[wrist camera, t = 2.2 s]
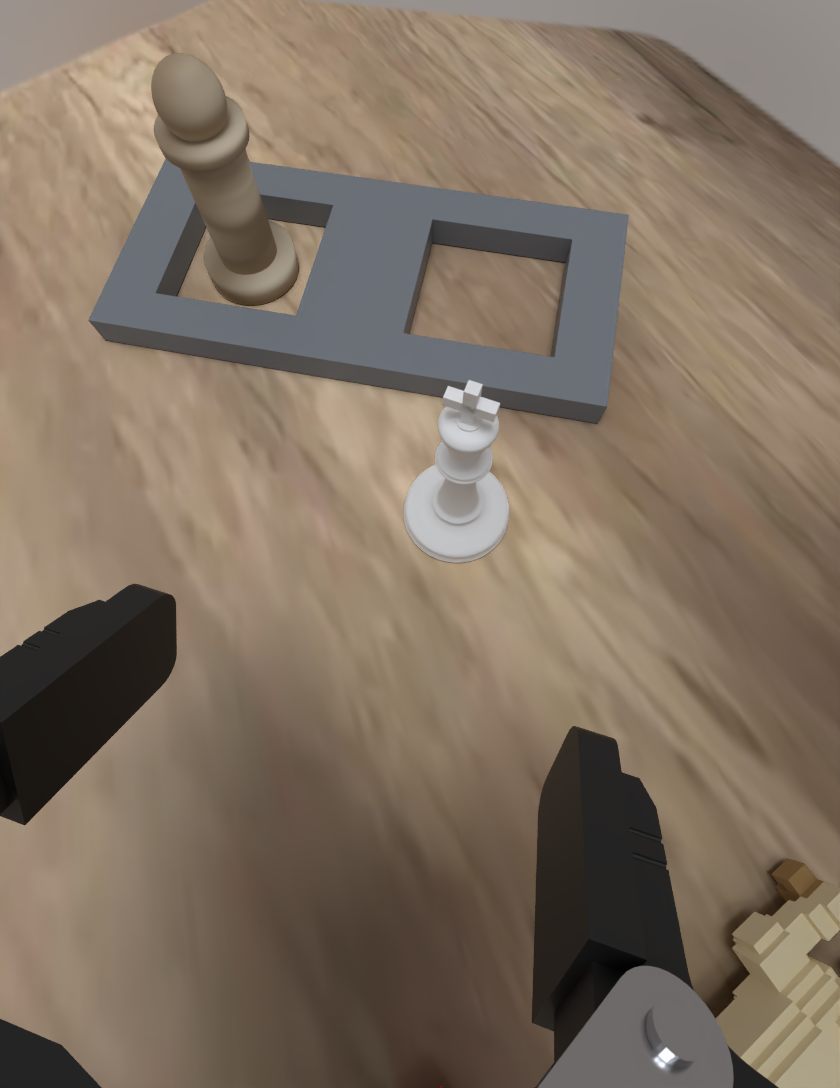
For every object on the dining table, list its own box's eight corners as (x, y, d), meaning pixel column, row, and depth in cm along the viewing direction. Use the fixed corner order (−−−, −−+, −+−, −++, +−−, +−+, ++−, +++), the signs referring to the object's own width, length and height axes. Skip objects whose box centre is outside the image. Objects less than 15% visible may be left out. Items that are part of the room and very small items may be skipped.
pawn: (308, 243, 30) (254, 26, 21) (285, 311, 29) (215, 111, 19) (227, 231, 31) (137, 12, 21) (200, 298, 29) (90, 94, 20)
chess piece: (426, 451, 26) (425, 299, 17) (522, 485, 25) (579, 347, 16) (387, 540, 25) (362, 430, 15) (488, 578, 24) (527, 488, 15)
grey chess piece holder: (619, 238, 30) (628, 214, 29) (597, 423, 26) (607, 406, 25) (181, 176, 32) (169, 150, 31) (105, 340, 28) (88, 320, 27)
